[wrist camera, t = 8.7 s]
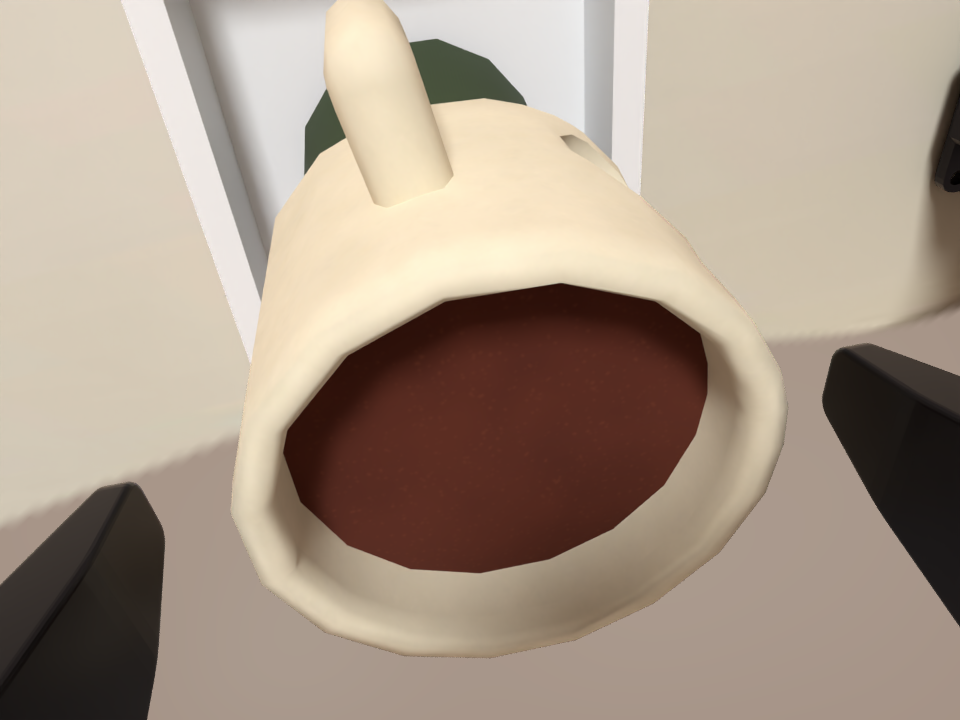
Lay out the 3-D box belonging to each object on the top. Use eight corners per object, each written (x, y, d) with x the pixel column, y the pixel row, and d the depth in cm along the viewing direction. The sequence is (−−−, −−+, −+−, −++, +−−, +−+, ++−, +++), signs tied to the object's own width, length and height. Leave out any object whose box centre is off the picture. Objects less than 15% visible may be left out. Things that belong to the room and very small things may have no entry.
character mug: (581, 276, 22) (798, 636, 12) (372, 349, 23) (406, 764, 12) (488, -118, 16) (783, -87, 5) (198, -10, 16) (-52, 215, 6)
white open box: (609, -211, 16) (659, -225, 13) (602, 337, 25) (631, 388, 22) (107, -156, 15) (63, -160, 12) (287, 392, 24) (282, 452, 21)
